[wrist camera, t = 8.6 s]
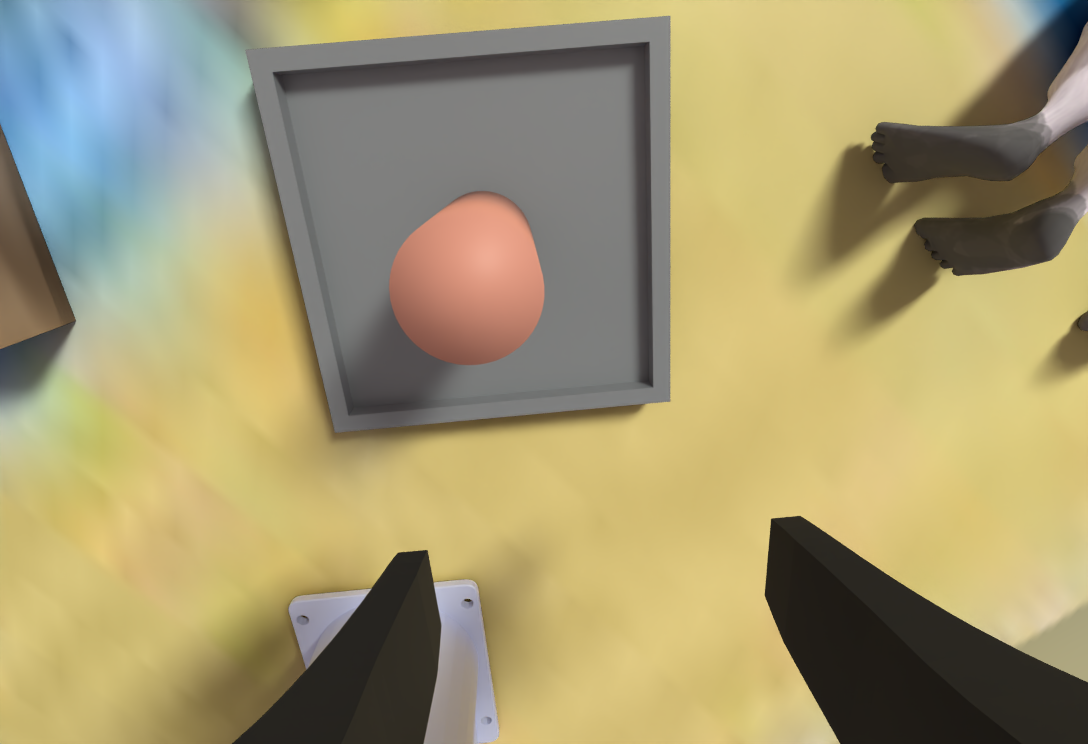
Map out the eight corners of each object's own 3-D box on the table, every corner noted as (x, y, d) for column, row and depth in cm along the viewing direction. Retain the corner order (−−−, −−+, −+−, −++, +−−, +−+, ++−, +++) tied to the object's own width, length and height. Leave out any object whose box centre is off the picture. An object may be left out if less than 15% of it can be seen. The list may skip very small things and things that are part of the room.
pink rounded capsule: (536, 284, 19) (550, 358, 12) (442, 293, 19) (403, 371, 12) (527, 186, 18) (537, 206, 11) (427, 195, 18) (376, 220, 11)
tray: (660, 385, 22) (670, 401, 20) (346, 414, 22) (335, 432, 20) (657, 27, 18) (670, 15, 16) (266, 58, 17) (245, 49, 16)
